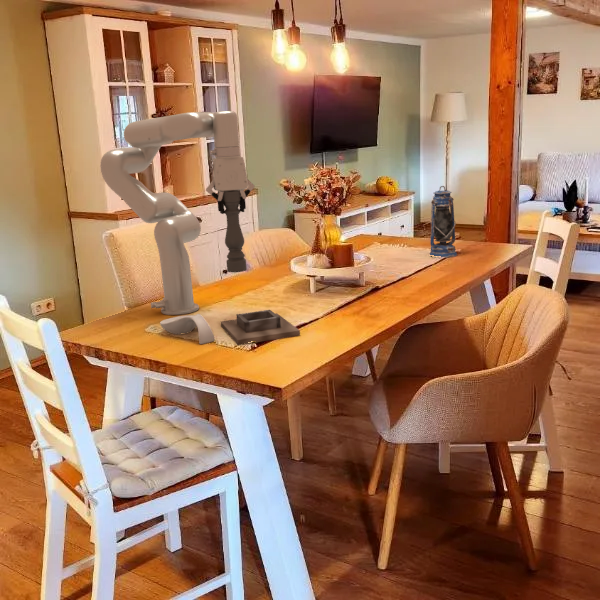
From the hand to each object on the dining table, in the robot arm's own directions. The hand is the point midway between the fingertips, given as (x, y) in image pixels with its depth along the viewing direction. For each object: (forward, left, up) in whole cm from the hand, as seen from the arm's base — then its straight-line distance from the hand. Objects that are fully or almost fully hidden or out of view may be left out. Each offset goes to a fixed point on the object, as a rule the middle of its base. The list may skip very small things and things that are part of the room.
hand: (232, 211), depth 214 cm
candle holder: (0, 0, -19) cm, 19 cm away
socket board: (0, -21, -33) cm, 39 cm away
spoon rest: (-19, -14, -34) cm, 41 cm away
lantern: (+104, +52, -33) cm, 121 cm away
